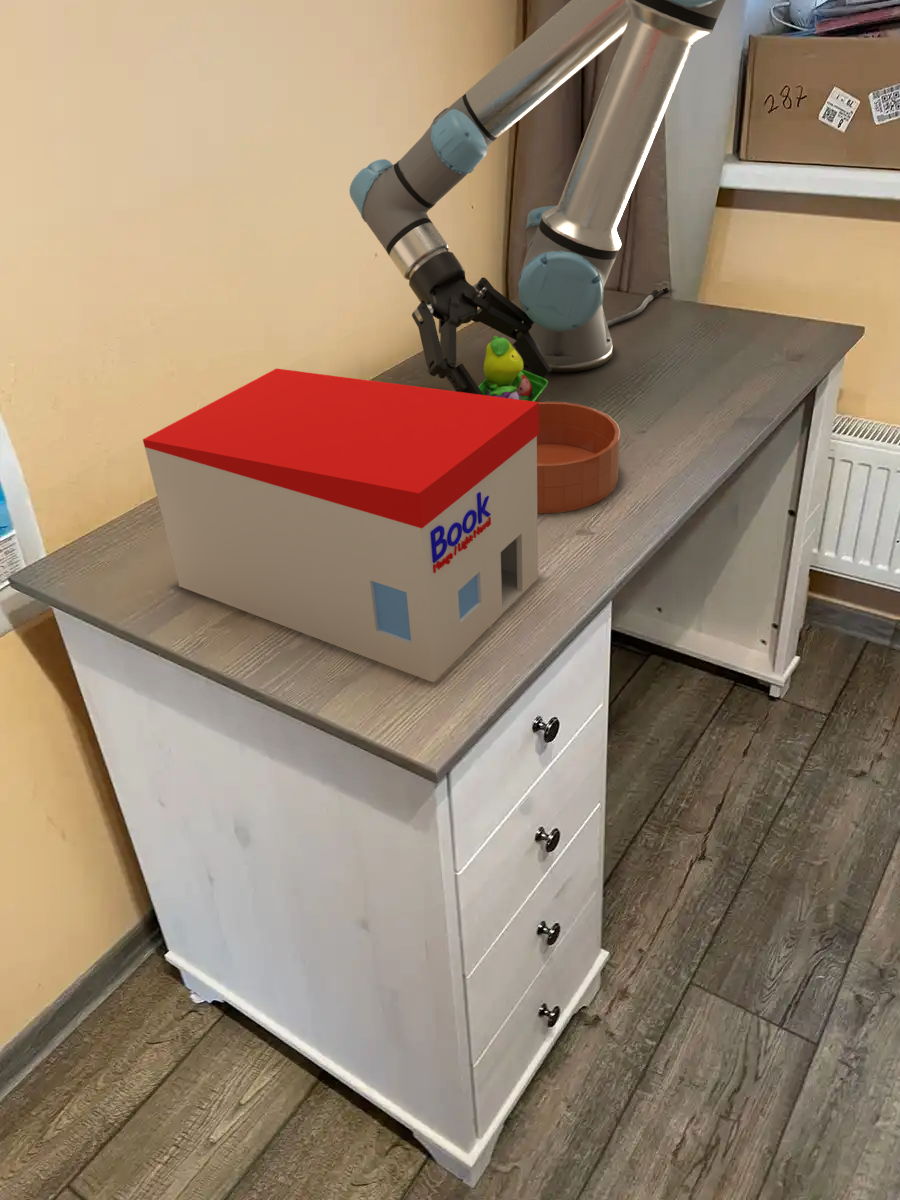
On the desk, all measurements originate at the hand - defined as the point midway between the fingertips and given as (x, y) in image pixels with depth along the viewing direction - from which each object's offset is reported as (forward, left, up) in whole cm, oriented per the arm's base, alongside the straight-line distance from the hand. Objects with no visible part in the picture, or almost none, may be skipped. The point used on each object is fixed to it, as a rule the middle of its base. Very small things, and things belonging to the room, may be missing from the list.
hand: (514, 392), depth 142 cm
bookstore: (+37, +23, -5) cm, 44 cm away
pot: (+6, +16, -5) cm, 17 cm away
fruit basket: (+1, -2, -4) cm, 5 cm away
